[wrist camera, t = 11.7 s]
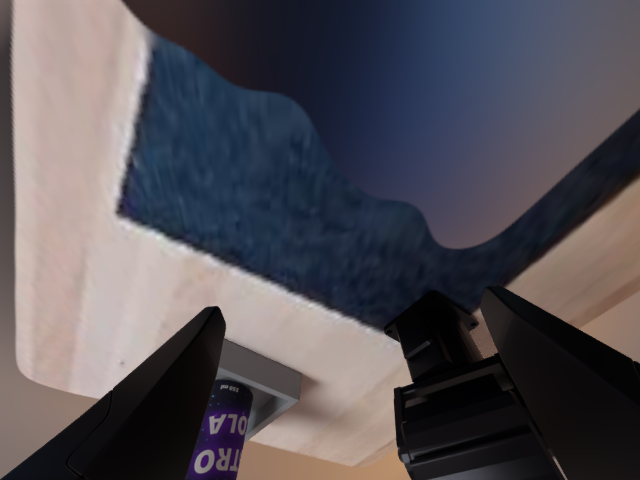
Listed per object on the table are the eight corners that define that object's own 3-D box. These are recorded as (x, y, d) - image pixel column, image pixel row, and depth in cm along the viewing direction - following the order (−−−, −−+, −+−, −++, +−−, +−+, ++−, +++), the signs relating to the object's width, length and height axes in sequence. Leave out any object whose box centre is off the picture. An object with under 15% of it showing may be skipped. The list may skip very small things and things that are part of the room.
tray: (301, 373, 31) (299, 400, 29) (250, 416, 36) (245, 442, 34) (206, 330, 28) (194, 357, 25) (164, 384, 33) (150, 410, 30)
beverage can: (255, 402, 33) (224, 553, 23) (206, 399, 33) (153, 550, 22) (254, 373, 30) (219, 532, 20) (201, 369, 30) (136, 528, 19)
